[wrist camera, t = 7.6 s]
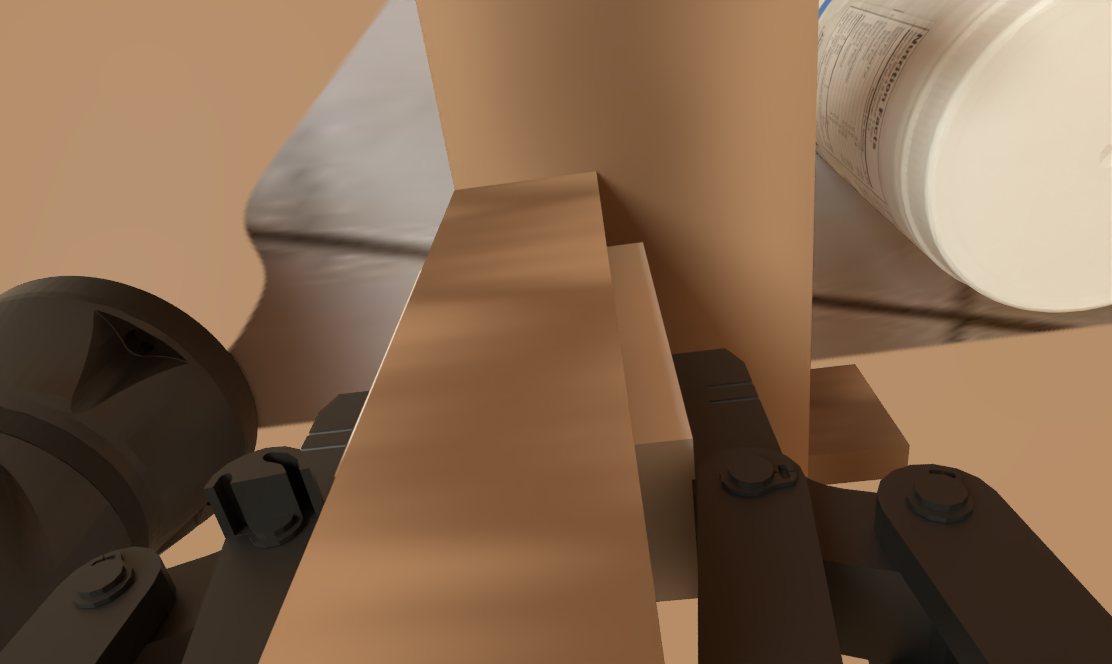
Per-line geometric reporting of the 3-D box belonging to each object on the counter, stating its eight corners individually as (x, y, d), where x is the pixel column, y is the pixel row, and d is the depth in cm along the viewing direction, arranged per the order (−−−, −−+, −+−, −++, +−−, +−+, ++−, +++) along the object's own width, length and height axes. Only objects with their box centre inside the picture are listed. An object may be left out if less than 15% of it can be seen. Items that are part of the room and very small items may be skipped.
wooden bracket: (527, 428, 24) (476, 1165, 10) (442, -27, 18) (-44, 145, 3) (853, 392, 23) (1319, 1132, 9) (879, -95, 17) (2496, -220, 3)
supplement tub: (1041, -63, 30) (1410, -58, 17) (980, 172, 34) (1234, 320, 21) (795, -60, 30) (976, -54, 17) (766, 174, 34) (891, 322, 21)
